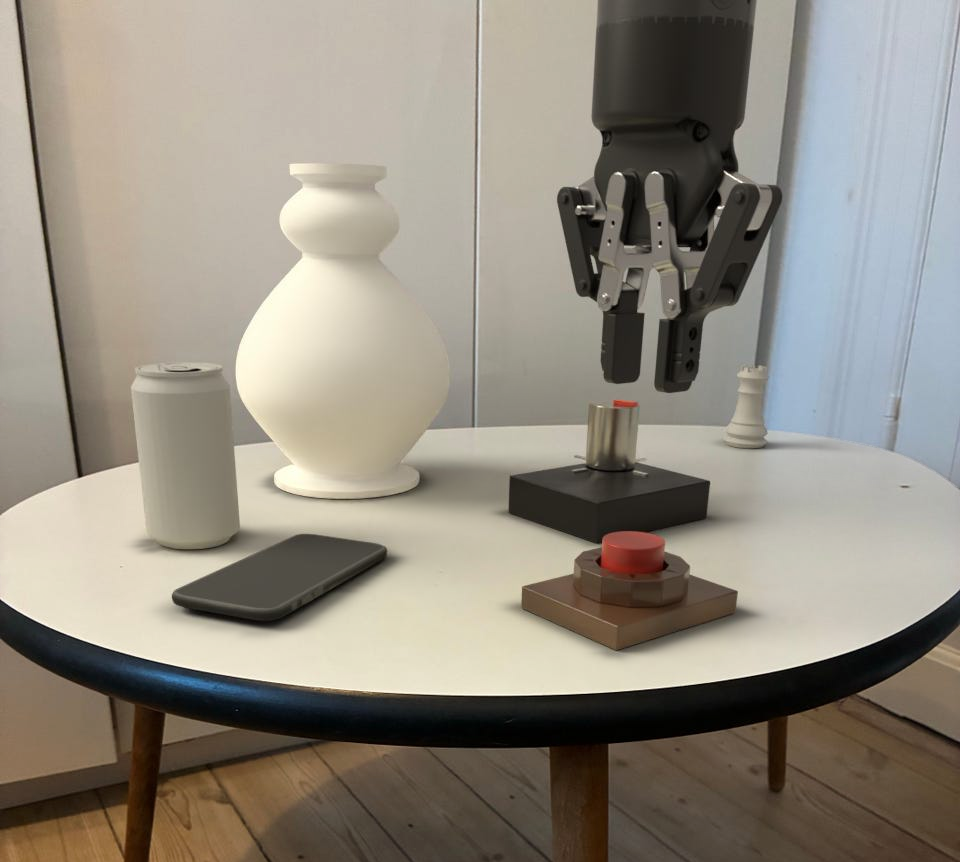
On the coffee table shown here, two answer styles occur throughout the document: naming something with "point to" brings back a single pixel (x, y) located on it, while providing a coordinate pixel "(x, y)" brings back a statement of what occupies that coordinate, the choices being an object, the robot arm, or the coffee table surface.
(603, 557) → the button
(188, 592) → the smartphone
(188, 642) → the coffee table surface
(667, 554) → the button block
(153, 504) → the beverage can
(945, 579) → the coffee table surface
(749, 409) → the rook chess piece
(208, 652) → the coffee table surface
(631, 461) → the hob knob
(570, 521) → the black flat square block
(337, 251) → the decorative vase
